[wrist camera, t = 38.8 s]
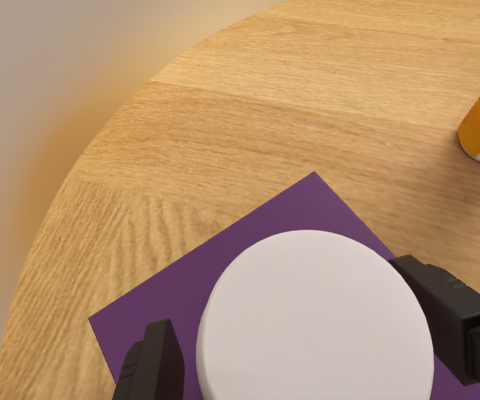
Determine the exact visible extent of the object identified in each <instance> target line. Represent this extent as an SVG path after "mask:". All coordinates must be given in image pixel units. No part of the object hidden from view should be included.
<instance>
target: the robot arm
mask: <svg viewBox="0 0 480 400" xmlns="http://www.w3.org/2000/svg"><path fill="white" fill-rule="evenodd" d="M387 262H388V263H389V264H390V265H391V266H392V267H393V268H394V269H395V270H396V271H397V272H398V273H399V274H400V275H401V277H402V278H403V279H404V281H405V282H406V283H407V285H408V286H409V288H410V289H411V290H412V292H413V293H414V295H415V297H416V299H417V301H418V303H419V305H420V307H421V309H422V311H423V313H424V315H425V317H426V321H427V324H428V328H429V332H430V335H431V340H432V346H433V353H434V354H435V355H436V356H437V357H438V358H439V359H440V361H441V362H442V363H443V364H444V365H445V366H446V367H447V368H448V369H449V370H450V372H451V373H452V374H453V375H454V376H455V377H456V378H457V379H458V380H459V381H460V383H461V384H462V385H463V386H464V387H466V386H469V385H473V384H476V383H480V294H479V293H477V292H476V291H475V290H473V289H472V288H470V287H469V286H466V284H465V283H463V282H462V281H460V280H459V279H456V277H455V276H453V275H452V274H450V273H449V272H448V271H446V270H445V269H442V268H439V267H436V266H434V265H431V264H427V265H424V264H422V263H421V262H420V261H418V260H417V259H416V258H414V257H413V256H412V255H405V256H401V257H397V258H393V259H390V260H388V261H387ZM184 379H185V364H184V358H183V354H182V351H181V348H180V345H179V342H178V339H177V337H176V334H175V331H174V328H173V325H172V322H171V320H170V319H169V318H167V319H163V320H159V321H156V322H152V323H148V324H147V326H146V330H145V334H144V338H143V340H142V341H138V342H135V343H134V344H133V346H132V347H131V348H130V350H129V351H128V352H127V354H126V356H125V359H124V362H123V366H122V370H121V372H120V375H119V380H118V382H117V385H116V389H115V392H114V395H113V399H112V400H183V394H184Z"/></svg>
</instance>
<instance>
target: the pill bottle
mask: <svg viewBox="0 0 480 400" xmlns="http://www.w3.org/2000/svg"><path fill="white" fill-rule="evenodd" d="M196 368H197V375H198V380H199V385H200V389H201V392H202V395H203V398H204V400H429V399H430V394H431V389H432V383H433V374H434V357H433V346H432V340H431V335H430V332H429V328H428V324H427V321H426V317H425V315H424V313H423V311H422V309H421V307H420V305H419V303H418V301H417V299H416V297H415V295H414V293H413V292H412V290H411V289H410V288H409V286H408V285H407V283H406V282H405V281H404V279H403V278H402V277H401V275H400V274H399V273H398V272H397V271H396V270H395V269H394V268H393V267H392V266H391V265H390V264H389V263H388V262H387V261H386V260H385V259H383V258H382V257H381V256H379V255H378V254H377V253H375V252H374V251H373V250H371V249H369V248H368V247H366V246H365V245H363V244H361V243H359V242H356V241H354V240H352V239H349V238H347V237H344V236H342V235H338V234H334V233H330V232H325V231H316V230H298V231H289V232H284V233H280V234H276V235H273V236H270V237H268V238H265V239H263V240H261V241H259V242H257V243H256V244H254V245H252V246H251V247H249V248H247V249H246V250H244V251H243V252H242V253H241V254H240V255H239V256H238V257H237V258H235V259H234V260H233V261H232V262H231V264H230V265H229V266H228V267H227V268H226V269H225V271H224V272H223V273H222V275H221V276H220V278H219V279H218V281H217V283H216V284H215V286H214V288H213V290H212V292H211V295H210V297H209V300H208V303H207V305H206V307H205V310H204V312H203V315H202V317H201V321H200V324H199V329H198V335H197V342H196Z"/></svg>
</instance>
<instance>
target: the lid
mask: <svg viewBox="0 0 480 400" xmlns="http://www.w3.org/2000/svg"><path fill="white" fill-rule="evenodd" d="M298 230H316V231H325V232H330V233H334V234H338V235H342V236H344V237H347V238H349V239H352V240H354V241H356V242H359V243H361V244H363V245H365V246H366V247H368V248H369V249H371V250H373V251H374V252H375V253H377V254H378V255H379V256H381V257H382V258H383V259H385V260H386V261H388V260H390V259H393V258H396V256H395V255H394V254H393V253H392V252H391V251H390V250H389V249H388V248H387V247H386V246H385V245H384V244H383V243H382V242H381V241H380V240H379V239H378V238H377V236H376V235H375V234H374V233H373V232H372V231H371V230H370V229H369V228H368V227H367V226H366V225H365V224H364V223H363V222H362V221H361V220H360V219H359V218H358V216H357V215H356V214H355V213H354V212H353V211H352V210H351V209H350V208H349V207H348V206H347V205H346V204H345V203H344V202H343V201H342V200H341V199H340V198H339V196H338V195H337V194H336V193H335V192H334V191H333V190H332V189H331V188H330V187H329V186H328V185H327V184H326V183H325V182H324V181H323V180H322V179H321V178H320V176H319V175H318V174H317V173H316V172H315V171H314V172H312V173H311V174H309V175H308V176H306V177H305V178H303V179H302V180H300V181H298V182H297V183H295V184H294V185H292V186H291V187H289V188H288V189H286V190H285V191H283V192H282V193H280V194H278V195H277V196H275V197H274V198H272V199H271V200H269V201H268V202H266V203H265V204H263V205H262V206H260V207H258V208H257V209H255V210H254V211H252V212H251V213H249V214H248V215H246V216H245V217H243V218H242V219H240V220H238V221H237V222H235V223H234V224H232V225H231V226H229V227H228V228H226V229H225V230H223V231H222V232H220V233H218V234H217V235H215V236H214V237H212V238H211V239H209V240H208V241H206V242H205V243H203V244H202V245H200V246H198V247H197V248H195V249H194V250H192V251H191V252H189V253H188V254H186V255H185V256H183V257H182V258H180V259H178V260H177V261H175V262H174V263H172V264H171V265H169V266H168V267H166V268H165V269H163V270H162V271H160V272H158V273H157V274H155V275H154V276H152V277H151V278H149V279H148V280H146V281H145V282H143V283H142V284H140V285H138V286H137V287H135V288H134V289H132V290H131V291H129V292H128V293H126V294H125V295H123V296H122V297H120V298H118V299H117V300H115V301H114V302H112V303H111V304H109V305H108V306H106V307H105V308H103V309H102V310H100V311H98V312H97V313H95V314H94V315H92V316H91V317H89V318H88V319H89V322H90V324H91V327H92V329H93V331H94V334H95V336H96V338H97V341H98V343H99V346H100V348H101V350H102V353H103V355H104V357H105V360H106V362H107V365H108V367H109V369H110V372H111V374H112V376H113V379H114V381H115V384H116V385H117V382H118V380H119V375H120V372H121V370H122V366H123V362H124V359H125V356H126V354H127V352H128V351H129V350H130V348H131V347H132V346H133V344H134V343H135V342H138V341H142V340H143V338H144V334H145V330H146V326H147V324H148V323H152V322H156V321H159V320H163V319H167V318H169V319H170V320H171V322H172V325H173V328H174V331H175V334H176V337H177V339H178V342H179V345H180V348H181V351H182V354H183V358H184V364H185V379H184V394H183V400H204V398H203V395H202V392H201V389H200V385H199V380H198V375H197V368H196V342H197V335H198V329H199V324H200V321H201V317H202V315H203V312H204V310H205V307H206V305H207V303H208V300H209V297H210V295H211V292H212V290H213V288H214V286H215V284H216V283H217V281H218V279H219V278H220V276H221V275H222V273H223V272H224V271H225V269H226V268H227V267H228V266H229V265H230V264H231V262H232V261H233V260H234V259H235V258H237V257H238V256H239V255H240V254H241V253H242V252H243V251H244V250H246V249H247V248H249V247H251V246H252V245H254V244H256V243H257V242H259V241H261V240H263V239H265V238H268V237H270V236H273V235H276V234H280V233H284V232H289V231H298ZM433 357H434V374H433V383H432V389H431V394H430V399H429V400H480V383H476V384H473V385H469V386H466V387H464V386H463V385H462V384H461V383H460V381H459V380H458V379H457V378H456V377H455V376H454V375H453V374H452V373H451V372H450V370H449V369H448V368H447V367H446V366H445V365H444V364H443V363H442V362H441V361H440V359H439V358H438V357H437V356H436V355H435V354H434V353H433Z"/></svg>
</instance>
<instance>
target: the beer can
mask: <svg viewBox="0 0 480 400" xmlns="http://www.w3.org/2000/svg"><path fill="white" fill-rule="evenodd" d="M458 136H459V140H460V142H461V145H462V147H463V149H464V151H465V152H466V153H467V154H468V155H469V156H470V157H472V158H473V159H475V160H477V161H479V162H480V97H479V99H478V100H477V101H476V103H475V104H474V106H473V107H472V108H471V110H470V111H469V112H468V114H467V115H466V117H465V118H464V119H463V121H462V122H461V123H460V125H459V128H458Z"/></svg>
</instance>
